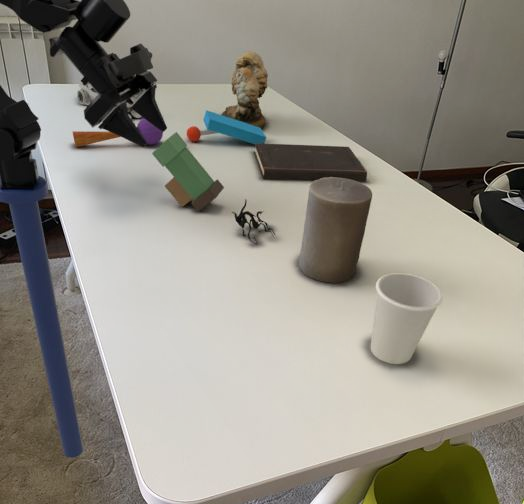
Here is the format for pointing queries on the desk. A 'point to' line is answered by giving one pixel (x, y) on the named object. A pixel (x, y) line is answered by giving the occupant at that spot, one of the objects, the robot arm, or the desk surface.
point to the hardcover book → (308, 162)
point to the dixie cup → (402, 315)
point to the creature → (242, 220)
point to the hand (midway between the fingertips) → (155, 137)
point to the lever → (227, 129)
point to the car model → (88, 94)
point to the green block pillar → (186, 174)
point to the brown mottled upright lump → (248, 90)
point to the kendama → (145, 128)
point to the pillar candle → (334, 228)
